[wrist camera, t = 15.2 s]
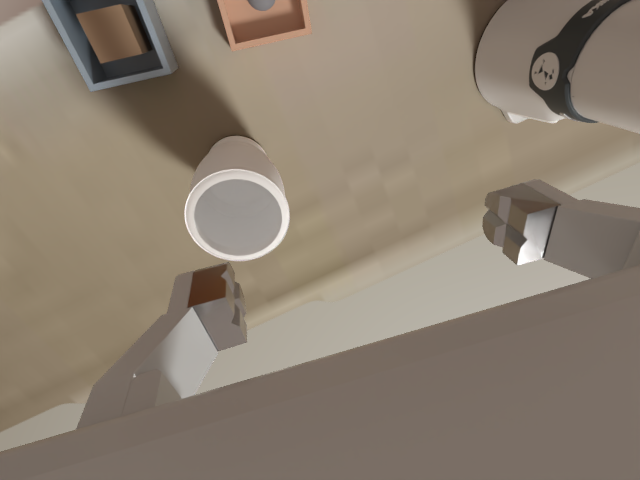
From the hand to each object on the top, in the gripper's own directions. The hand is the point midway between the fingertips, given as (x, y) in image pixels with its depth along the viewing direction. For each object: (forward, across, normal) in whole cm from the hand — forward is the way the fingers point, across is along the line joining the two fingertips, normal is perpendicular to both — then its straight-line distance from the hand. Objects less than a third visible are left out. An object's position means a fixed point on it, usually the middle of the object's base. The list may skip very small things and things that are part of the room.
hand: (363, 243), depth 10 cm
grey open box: (+37, +14, -7) cm, 40 cm away
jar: (+37, +7, +10) cm, 39 cm away
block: (+36, +14, -7) cm, 40 cm away
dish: (+37, -1, -8) cm, 38 cm away
